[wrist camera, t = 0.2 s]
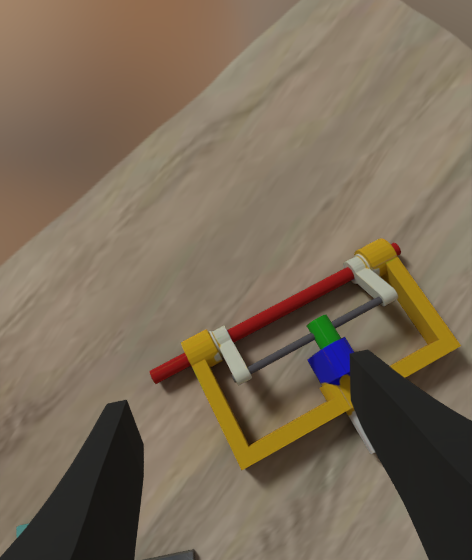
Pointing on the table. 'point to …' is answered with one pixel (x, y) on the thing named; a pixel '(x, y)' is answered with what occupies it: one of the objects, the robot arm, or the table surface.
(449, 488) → the robot arm
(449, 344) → the mechanical clamp
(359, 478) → the table surface
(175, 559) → the rail holder
